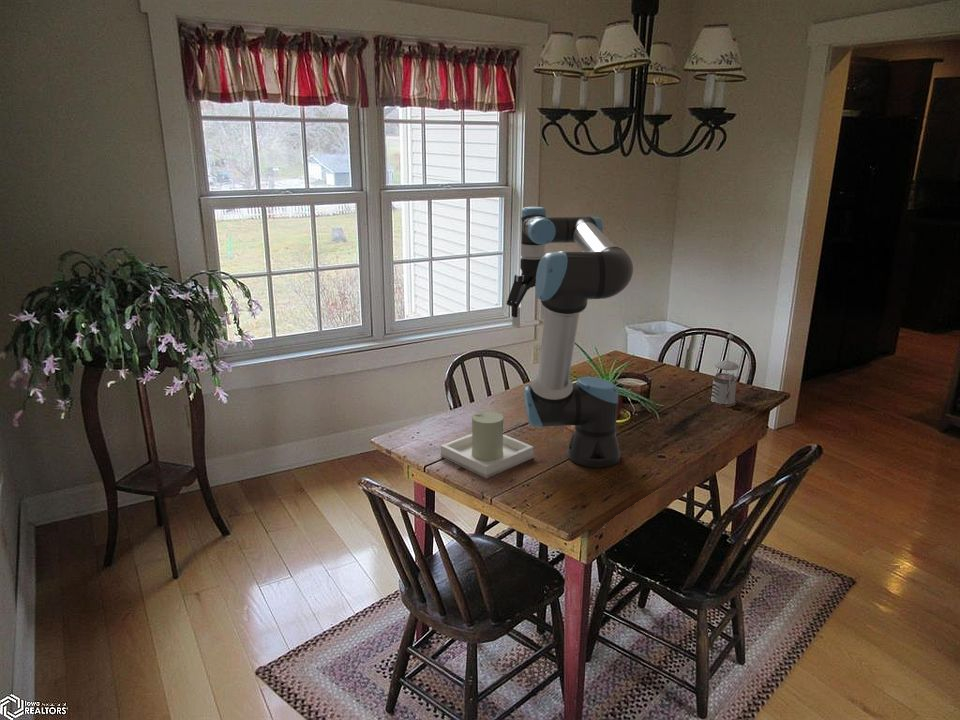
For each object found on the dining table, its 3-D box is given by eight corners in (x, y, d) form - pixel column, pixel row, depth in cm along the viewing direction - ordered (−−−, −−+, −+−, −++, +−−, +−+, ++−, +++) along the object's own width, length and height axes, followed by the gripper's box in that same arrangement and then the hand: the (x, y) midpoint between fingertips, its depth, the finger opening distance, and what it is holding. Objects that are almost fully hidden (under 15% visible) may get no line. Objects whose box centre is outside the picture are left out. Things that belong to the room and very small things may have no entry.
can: (480, 444, 205) (481, 407, 202) (508, 451, 201) (509, 413, 198) (465, 456, 198) (465, 417, 194) (494, 463, 193) (494, 424, 190)
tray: (533, 457, 199) (533, 446, 198) (486, 478, 187) (486, 467, 186) (487, 438, 212) (487, 427, 211) (440, 456, 200) (440, 445, 199)
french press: (731, 397, 247) (739, 330, 240) (743, 409, 236) (752, 339, 229) (704, 397, 247) (711, 330, 240) (715, 409, 236) (723, 339, 229)
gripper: (549, 251, 226) (547, 314, 232) (495, 260, 209) (495, 327, 216) (567, 254, 221) (564, 318, 227) (513, 263, 204) (512, 332, 211)
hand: (530, 323), depth 221 cm, fingers open, 13 cm apart
